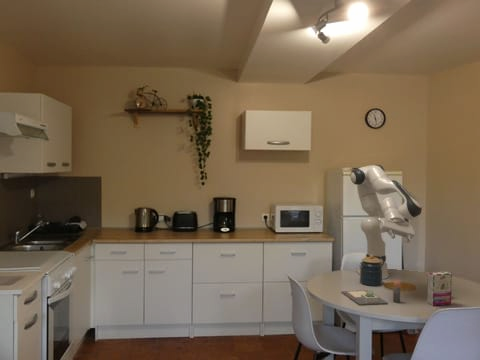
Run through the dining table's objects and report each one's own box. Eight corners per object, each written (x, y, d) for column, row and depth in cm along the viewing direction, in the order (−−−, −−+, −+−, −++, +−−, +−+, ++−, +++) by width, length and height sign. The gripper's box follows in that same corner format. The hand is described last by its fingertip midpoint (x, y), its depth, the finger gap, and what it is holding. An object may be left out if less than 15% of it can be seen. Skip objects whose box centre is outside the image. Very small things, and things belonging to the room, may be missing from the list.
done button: (364, 296, 228) (365, 290, 228) (371, 296, 228) (371, 290, 228) (368, 298, 224) (368, 292, 224) (374, 298, 225) (374, 292, 225)
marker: (391, 301, 229) (392, 280, 229) (397, 300, 230) (398, 280, 229) (395, 303, 226) (395, 282, 225) (401, 302, 226) (402, 281, 226)
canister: (377, 287, 253) (378, 257, 253) (356, 283, 261) (357, 254, 261) (385, 283, 264) (385, 254, 263) (364, 279, 272) (365, 251, 271)
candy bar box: (444, 301, 229) (445, 271, 229) (451, 304, 224) (452, 273, 224) (426, 303, 226) (427, 272, 226) (433, 306, 222) (434, 274, 221)
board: (341, 292, 242) (341, 286, 242) (367, 291, 245) (368, 286, 245) (359, 305, 220) (359, 299, 220) (388, 304, 223) (388, 297, 223)
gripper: (381, 212, 236) (387, 231, 225) (412, 221, 241) (420, 240, 230) (374, 219, 240) (380, 238, 229) (405, 228, 245) (413, 247, 234)
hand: (400, 239), depth 230 cm, fingers open, 8 cm apart
